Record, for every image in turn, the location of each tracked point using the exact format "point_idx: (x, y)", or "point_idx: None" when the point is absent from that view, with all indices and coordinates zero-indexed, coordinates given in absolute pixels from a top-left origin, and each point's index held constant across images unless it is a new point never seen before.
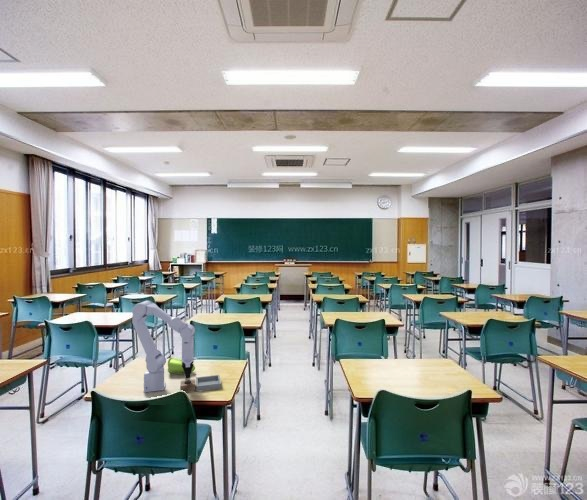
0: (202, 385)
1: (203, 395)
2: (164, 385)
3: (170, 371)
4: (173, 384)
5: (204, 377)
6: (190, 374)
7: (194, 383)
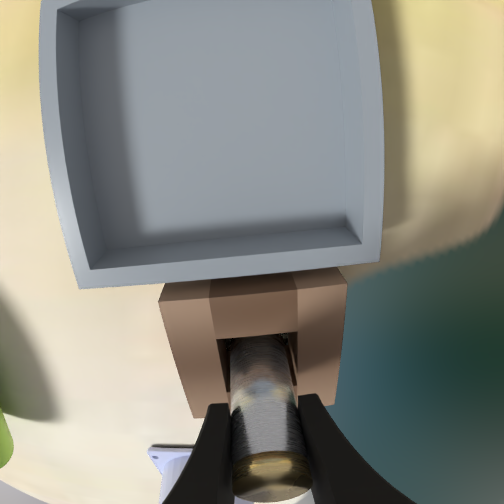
0: (379, 188)
1: (457, 171)
2: (187, 454)
3: (9, 431)
4: (149, 414)
5: (71, 178)
6: (337, 427)
7: (317, 295)
